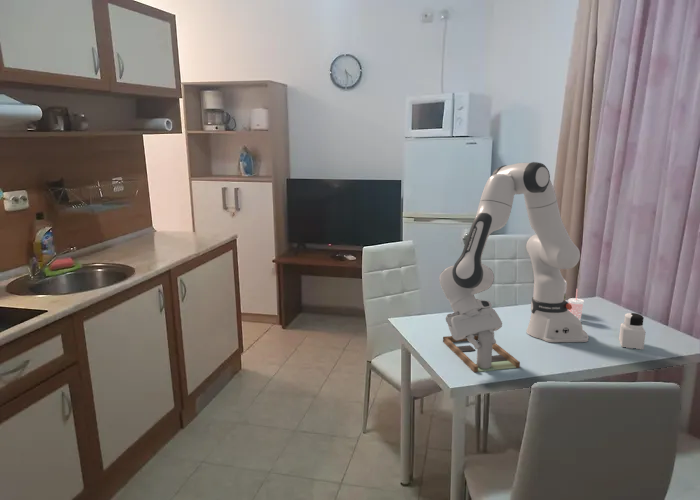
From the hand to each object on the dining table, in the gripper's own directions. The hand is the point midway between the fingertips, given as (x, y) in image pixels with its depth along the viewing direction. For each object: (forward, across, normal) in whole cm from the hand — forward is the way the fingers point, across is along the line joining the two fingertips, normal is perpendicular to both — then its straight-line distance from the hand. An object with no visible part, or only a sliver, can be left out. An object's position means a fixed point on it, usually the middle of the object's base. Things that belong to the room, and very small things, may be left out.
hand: (486, 346), depth 170 cm
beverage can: (+5, 0, +6) cm, 8 cm away
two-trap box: (-1, +6, +12) cm, 14 cm away
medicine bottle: (+15, +61, -3) cm, 63 cm away
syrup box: (-14, +70, +25) cm, 76 cm away
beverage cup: (-5, +66, +17) cm, 68 cm away
